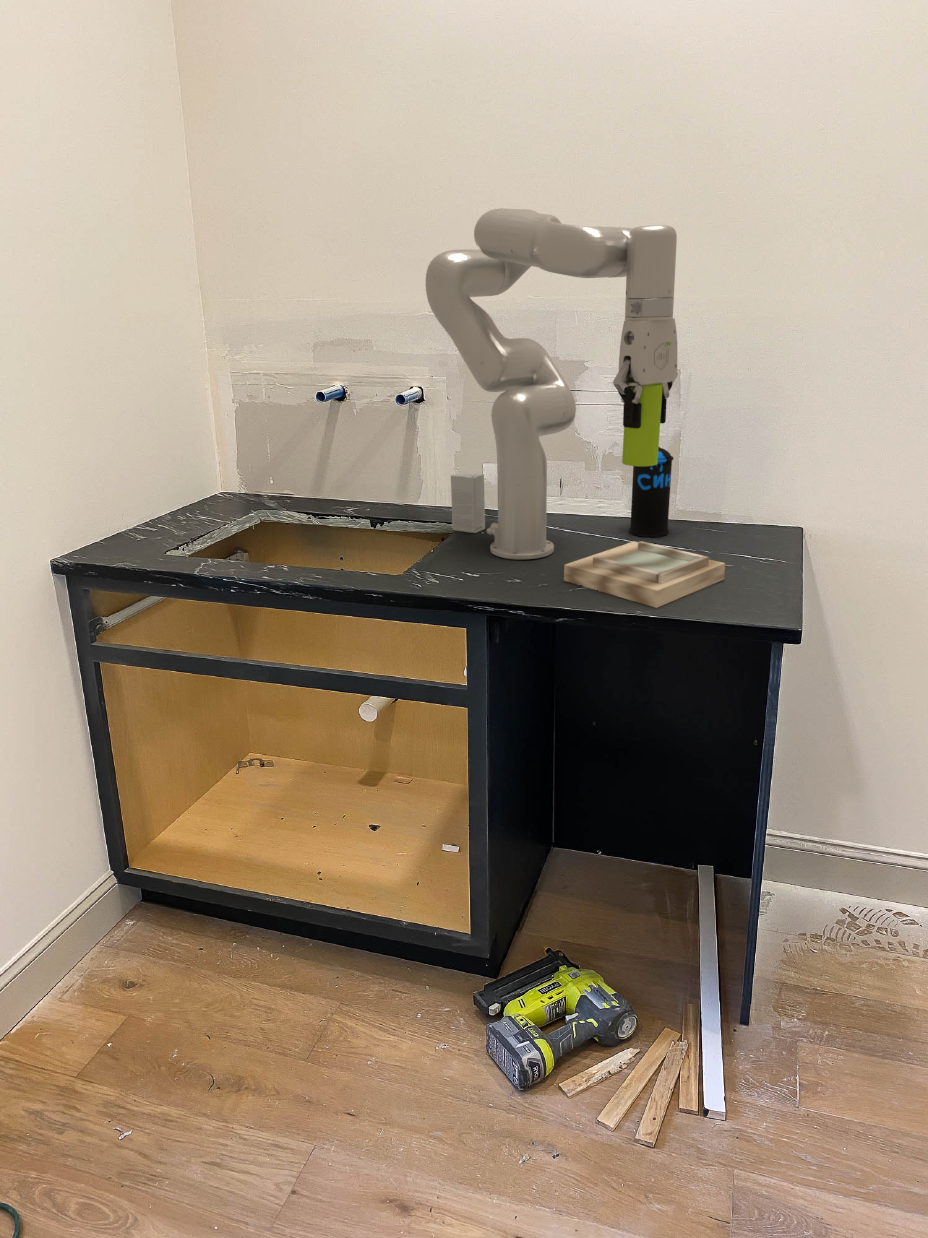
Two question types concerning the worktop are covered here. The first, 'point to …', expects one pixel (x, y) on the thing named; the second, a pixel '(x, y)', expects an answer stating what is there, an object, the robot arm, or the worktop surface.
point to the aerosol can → (651, 497)
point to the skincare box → (468, 502)
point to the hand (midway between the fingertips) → (644, 423)
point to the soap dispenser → (645, 429)
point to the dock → (645, 573)
